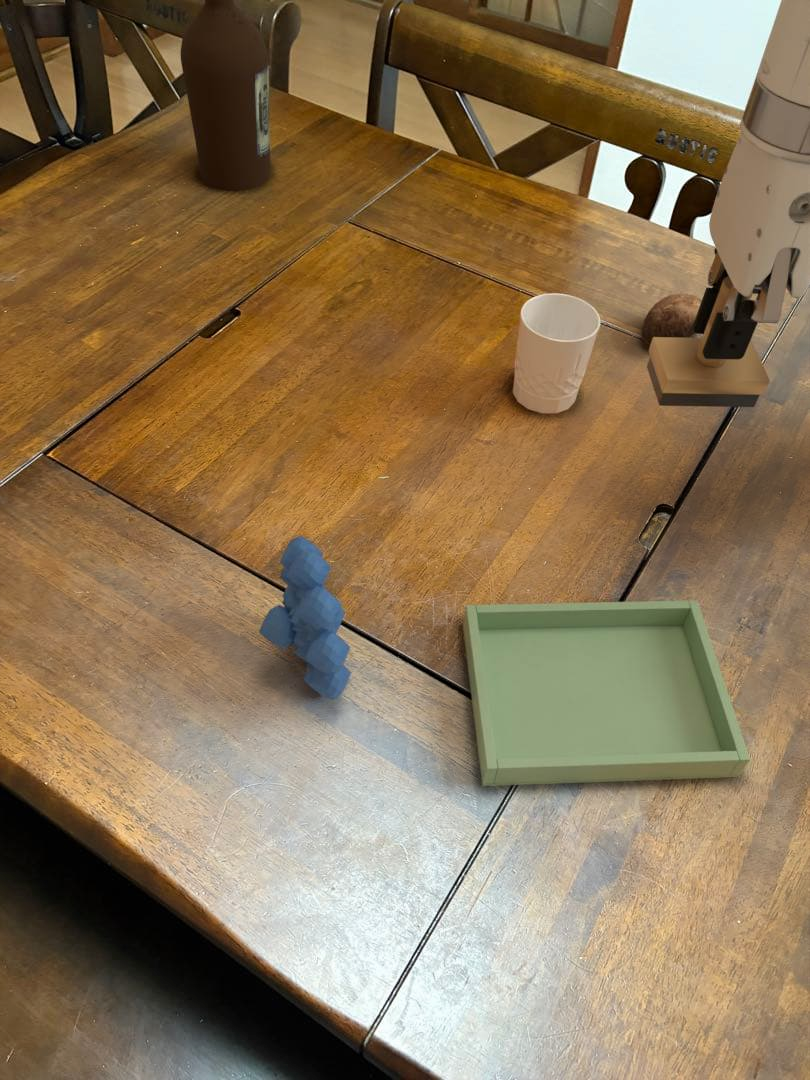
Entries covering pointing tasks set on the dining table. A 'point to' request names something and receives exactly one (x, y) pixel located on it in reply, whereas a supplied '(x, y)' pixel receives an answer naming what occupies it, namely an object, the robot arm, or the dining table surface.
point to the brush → (705, 369)
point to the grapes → (310, 619)
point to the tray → (598, 693)
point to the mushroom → (672, 318)
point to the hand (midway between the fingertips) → (717, 342)
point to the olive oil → (228, 96)
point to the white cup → (553, 351)
